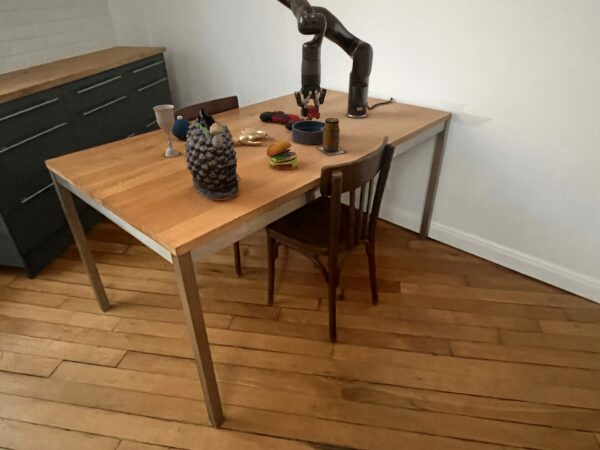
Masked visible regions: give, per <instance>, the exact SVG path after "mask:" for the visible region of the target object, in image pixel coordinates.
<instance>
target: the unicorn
mask: <svg viewBox="0 0 600 450" xmlns="http://www.w3.org/2000/svg"><path fill="white" fill-rule="evenodd" d="M263 138H266V140H269V139H271V135H270V133H269V132H265V131H263V130H258V128H257V127H248V128H247V127H245V129H243V130H242V131H240V135H238V136H237V137H236V136H235V137H234V138H232V139H233V146H235V145H239V144H241V145H247V146H248V145H249V146H259V145H263V141H256V140H257V139H263Z"/></svg>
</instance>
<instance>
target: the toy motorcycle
mask: <svg viewBox="0 0 600 450" xmlns="http://www.w3.org/2000/svg"><path fill="white" fill-rule="evenodd" d="M259 119H260V121H262V122H265V123H266V122H267V123H268V122H275V123H277V124H282V125H284V127H285V129H286V130H289V131H292V125H293V124H294V123H296V122H300V121H309V120H308V117H300V116H298V115H297V114H293V113H285V112H284V111H282V110H274V111H264V112H261V113H260V114H259Z"/></svg>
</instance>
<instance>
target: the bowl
mask: <svg viewBox="0 0 600 450" xmlns="http://www.w3.org/2000/svg"><path fill="white" fill-rule="evenodd" d="M324 126H325V121H324V122H323V121H319V120H307V121H300V122H296V123H294V124H293V125H292V130H291V138H292V140H293V141H294V142H295V143H299V144H304V145H318V144H323V137H324Z"/></svg>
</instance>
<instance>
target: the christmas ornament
mask: <svg viewBox="0 0 600 450" xmlns="http://www.w3.org/2000/svg"><path fill="white" fill-rule="evenodd" d="M191 125H192V123H191V122H190V121H189V120H188V119H186V118H183V116H182V115H178V116H177V118H176V119H175V121H174V126H173V129H172V131H171V133H172V135H173V136H174V137H175V138H176V139H179V140H187V137H186V136H187V135H188V133H187V132H188V131H189V130H190V129H189V126H191Z"/></svg>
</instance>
